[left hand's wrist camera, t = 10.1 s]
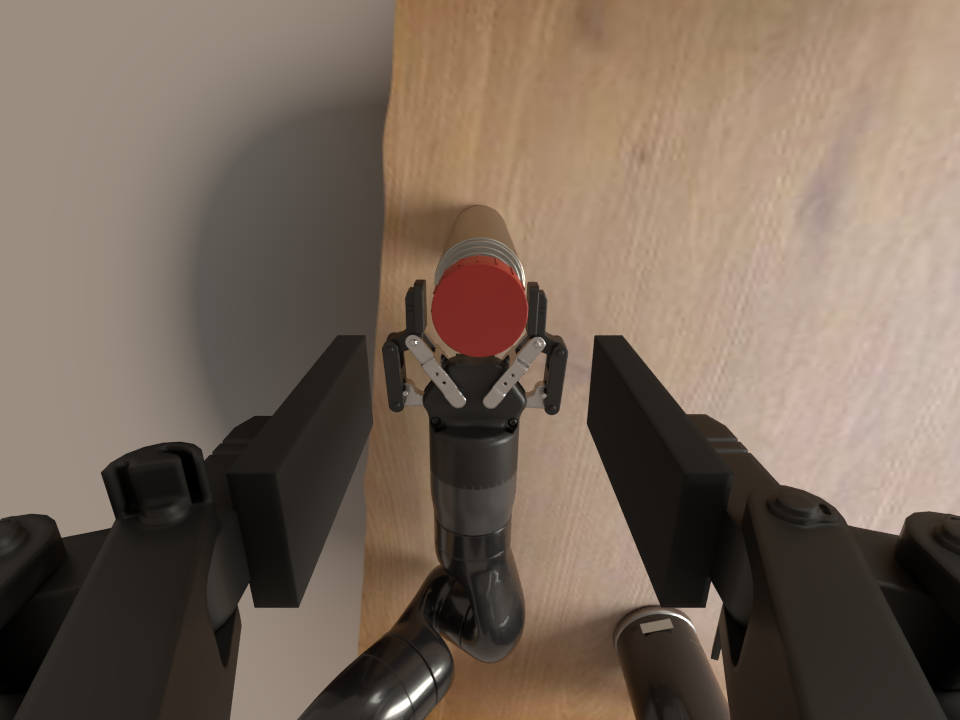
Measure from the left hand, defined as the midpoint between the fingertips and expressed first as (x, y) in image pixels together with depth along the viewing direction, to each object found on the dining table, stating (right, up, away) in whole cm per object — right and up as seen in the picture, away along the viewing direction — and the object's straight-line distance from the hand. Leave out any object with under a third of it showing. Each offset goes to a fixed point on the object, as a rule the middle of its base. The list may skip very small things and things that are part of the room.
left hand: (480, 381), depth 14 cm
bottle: (0, +11, +29) cm, 31 cm away
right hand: (0, +6, +24) cm, 25 cm away
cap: (0, +3, +7) cm, 7 cm away
